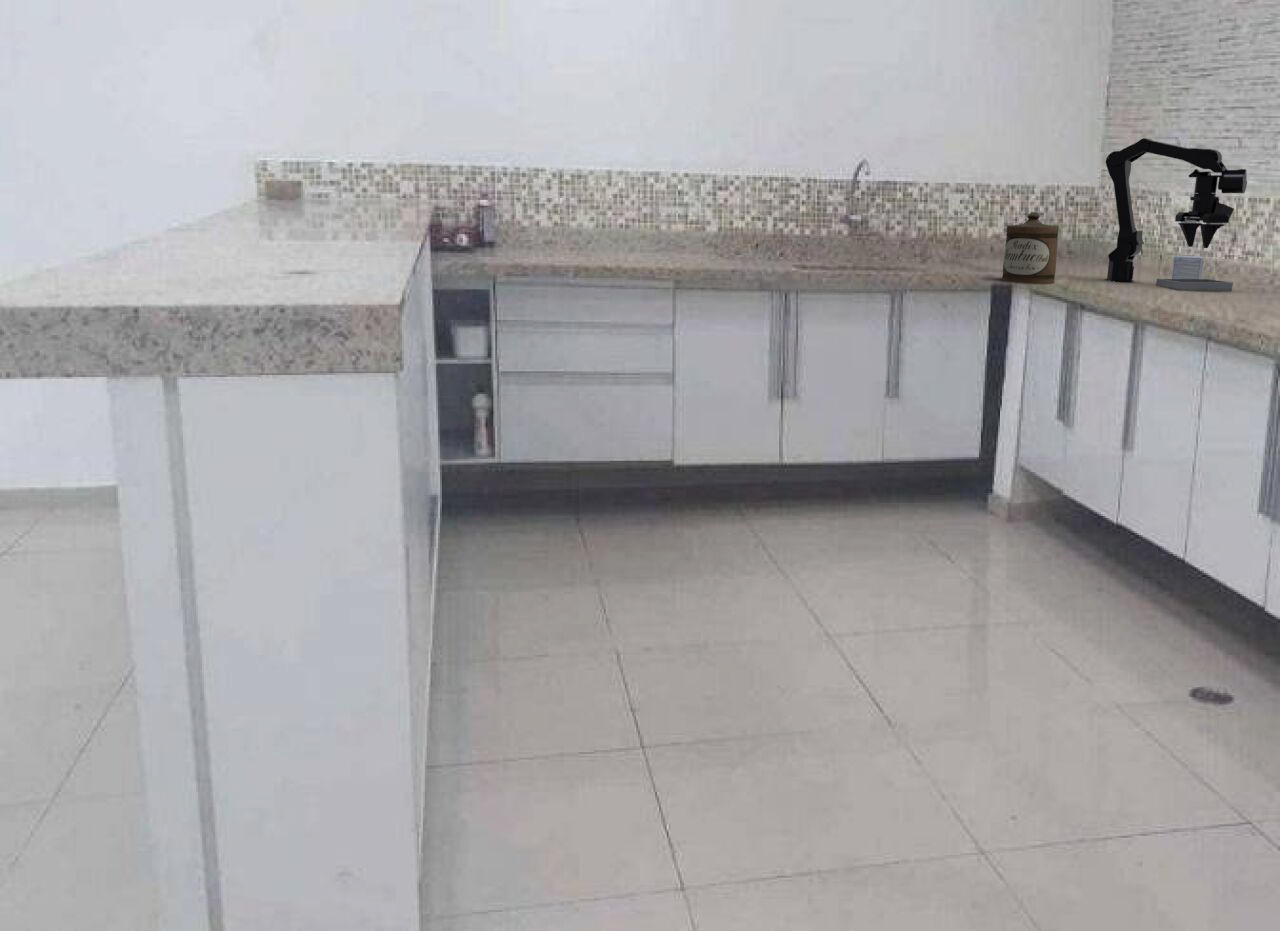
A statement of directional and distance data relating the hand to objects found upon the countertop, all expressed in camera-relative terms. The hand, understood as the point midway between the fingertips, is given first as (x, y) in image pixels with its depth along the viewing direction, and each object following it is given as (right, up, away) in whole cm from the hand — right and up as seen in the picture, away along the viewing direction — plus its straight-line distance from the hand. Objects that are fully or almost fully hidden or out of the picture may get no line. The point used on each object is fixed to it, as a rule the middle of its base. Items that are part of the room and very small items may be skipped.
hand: (1197, 247), depth 321 cm
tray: (-1, -12, +1) cm, 12 cm away
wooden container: (-50, -12, +2) cm, 51 cm away
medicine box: (+5, -8, +18) cm, 20 cm away
